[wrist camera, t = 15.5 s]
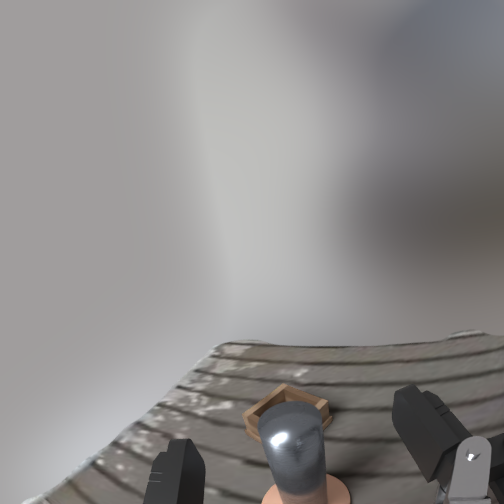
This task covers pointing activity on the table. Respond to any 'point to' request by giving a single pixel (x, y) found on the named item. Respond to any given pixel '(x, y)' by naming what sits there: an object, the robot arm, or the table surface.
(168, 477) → the robot arm
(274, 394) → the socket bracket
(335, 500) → the pad
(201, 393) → the table surface
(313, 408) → the rod
